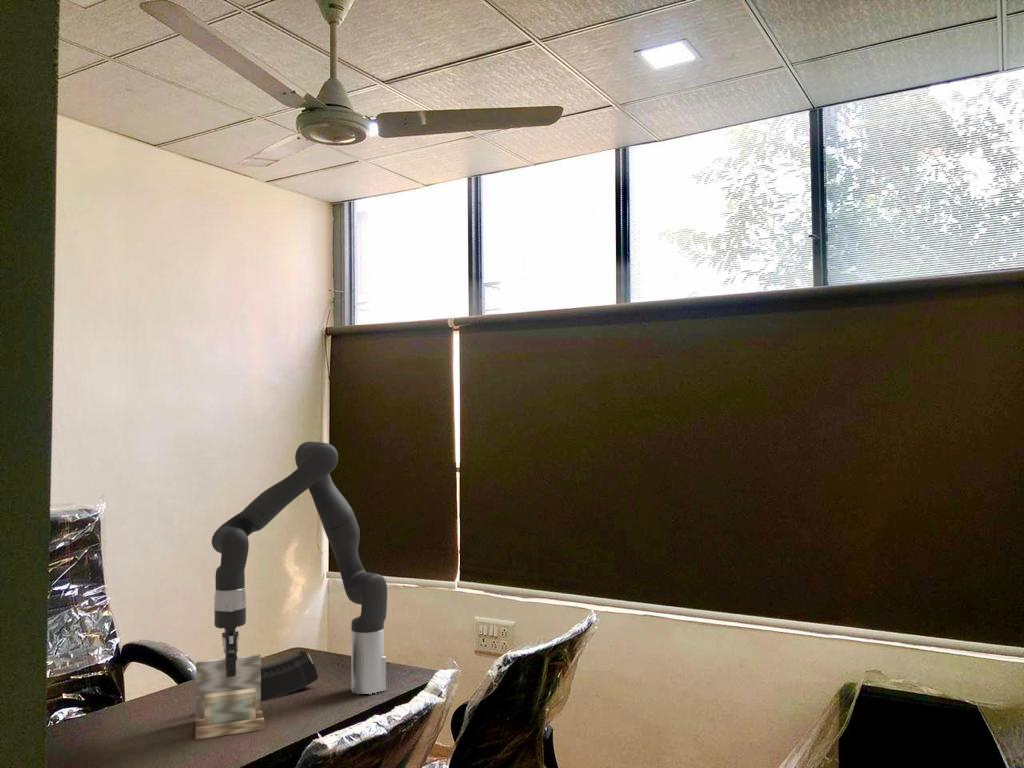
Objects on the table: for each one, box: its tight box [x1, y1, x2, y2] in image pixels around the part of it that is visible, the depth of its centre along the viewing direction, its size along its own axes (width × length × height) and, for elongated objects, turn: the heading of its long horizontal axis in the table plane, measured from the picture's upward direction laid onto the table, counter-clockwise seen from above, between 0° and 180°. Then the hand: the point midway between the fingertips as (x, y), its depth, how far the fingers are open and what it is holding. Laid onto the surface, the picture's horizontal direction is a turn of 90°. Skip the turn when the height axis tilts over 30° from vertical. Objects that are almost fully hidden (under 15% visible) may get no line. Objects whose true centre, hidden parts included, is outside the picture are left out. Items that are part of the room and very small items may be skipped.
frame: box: [204, 688, 256, 726], centre depth 198 cm, size 12×3×8 cm, turn 112°
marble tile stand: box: [194, 654, 265, 740], centre depth 202 cm, size 16×14×15 cm
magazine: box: [261, 649, 319, 702], centre depth 221 cm, size 17×3×30 cm
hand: (230, 671), depth 199 cm, fingers open, 8 cm apart
